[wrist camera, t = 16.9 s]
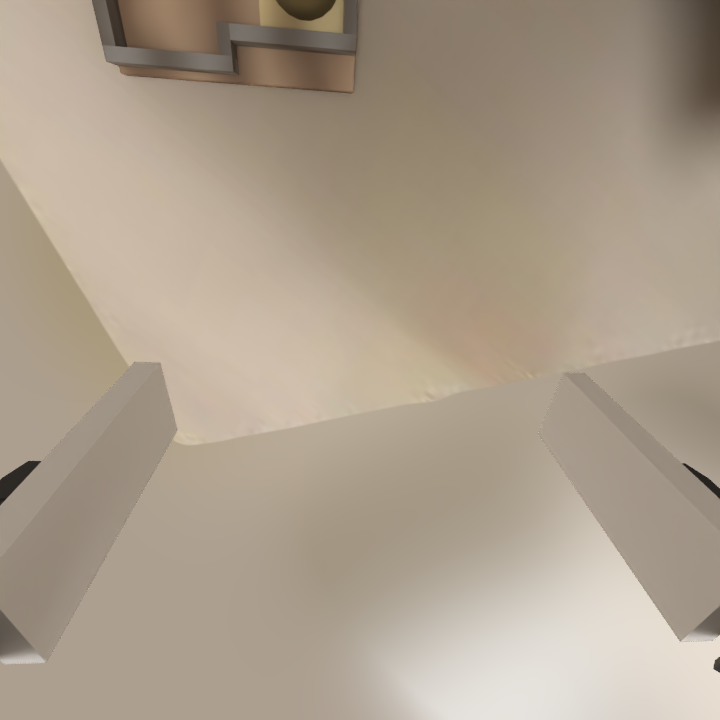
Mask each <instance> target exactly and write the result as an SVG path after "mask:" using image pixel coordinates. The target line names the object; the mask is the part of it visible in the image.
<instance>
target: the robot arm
mask: <svg viewBox="0 0 720 720" xmlns="http://www.w3.org/2000/svg"><path fill="white" fill-rule="evenodd" d="M176 432H177V426H176V422H175V418H174V414H173V410H172V406H171V403H170V399H169V395H168V391H167V387H166V383H165V379H164V375H163V371H162V368H161V364H160V363H152V362H134V363H133V364H132V365H131V366H130V368H129V369H128V370H127V371H126V372H125V373H124V374H123V375H122V376H121V377H120V378H119V379H118V380H117V381H116V383H115V384H114V385H113V386H112V387H111V388H110V389H109V390H108V391H107V392H106V393H105V394H104V395H103V396H102V397H101V399H100V400H99V401H98V402H97V403H96V404H95V405H94V406H93V407H92V408H91V409H90V410H89V412H87V413H86V415H85V416H84V417H83V418H82V419H81V420H80V421H79V422H78V423H77V424H76V425H75V426H74V427H73V428H72V429H71V431H70V432H69V433H68V434H67V435H66V436H65V437H64V438H63V439H62V440H61V441H60V442H59V443H58V445H56V447H55V448H54V449H53V450H52V451H51V452H50V453H49V454H48V455H47V456H46V457H45V458H44V459H43V460H42V461H28V462H26V463H25V464H23V465H22V466H20V467H19V468H17V469H15V470H14V471H12V472H11V473H9V474H8V475H6V476H5V477H3V478H2V479H1V480H0V660H1V661H2V662H3V663H4V664H16V663H46V662H47V661H48V659H49V657H50V655H51V653H52V652H53V650H54V648H55V646H56V645H57V643H58V641H59V639H60V638H61V636H62V634H63V632H64V630H65V629H66V627H67V625H68V623H69V621H70V620H71V618H72V616H73V614H74V613H75V611H76V609H77V607H78V606H79V604H80V602H81V600H82V598H83V597H84V595H85V593H86V592H87V590H88V588H89V586H90V584H91V582H92V581H93V579H94V577H95V576H96V574H97V572H98V570H99V568H100V567H101V565H102V563H103V561H104V560H105V558H106V556H107V554H108V552H109V551H110V549H111V547H112V545H113V544H114V542H115V540H116V538H117V537H118V535H119V533H120V531H121V529H122V528H123V526H124V524H125V522H126V520H127V519H128V517H129V515H130V514H131V512H132V510H133V508H134V506H135V505H136V503H137V501H138V499H139V498H140V496H141V494H142V492H143V490H144V489H145V487H146V485H147V483H148V482H149V480H150V478H151V476H152V474H153V473H154V471H155V469H156V467H157V466H158V464H159V462H160V460H161V459H162V457H163V455H164V453H165V452H166V450H167V448H168V446H169V444H170V443H171V441H172V439H173V437H174V436H175V434H176ZM538 435H539V436H540V438H541V439H542V441H543V442H544V443H545V445H546V446H547V448H548V449H549V451H550V452H551V454H552V455H553V457H554V458H555V459H556V461H557V463H558V464H559V465H560V467H561V468H562V470H563V471H564V473H565V474H566V476H567V477H568V479H569V480H570V482H571V483H572V484H573V486H574V487H575V489H576V490H577V492H578V493H579V495H580V496H581V497H582V499H583V500H584V502H585V503H586V505H587V506H588V508H589V509H590V511H591V512H592V513H593V515H594V517H595V518H596V519H597V521H598V522H599V524H600V525H601V527H602V528H603V530H604V531H605V533H606V534H607V536H608V537H609V538H610V540H611V541H612V543H613V544H614V546H615V547H616V548H617V550H618V552H619V553H620V554H621V556H622V557H623V559H624V560H625V562H626V563H627V565H628V566H629V568H630V569H631V570H632V572H633V573H634V575H635V576H636V578H637V579H638V581H639V582H640V584H641V585H642V586H643V588H644V589H645V591H646V592H647V594H648V595H649V597H650V598H651V600H652V601H653V603H654V604H655V606H656V607H657V608H658V610H659V611H660V613H661V614H662V616H663V617H664V619H665V620H666V622H667V623H668V625H669V626H670V627H671V629H672V630H673V632H674V633H675V635H676V636H677V638H678V639H679V641H680V642H690V641H713V640H714V639H715V638H717V637H718V636H719V635H720V488H718V487H717V486H716V485H715V484H714V483H713V482H712V481H711V480H710V479H708V478H707V477H705V476H704V475H702V474H701V473H699V472H698V471H696V470H694V469H693V468H691V467H690V466H688V465H686V464H682V463H681V462H680V461H679V460H678V459H676V458H675V457H674V456H673V455H672V454H671V453H670V452H669V451H668V450H667V449H666V448H665V447H664V446H663V445H661V444H660V443H659V442H658V441H657V440H656V439H655V438H654V437H653V436H652V435H651V434H650V433H649V432H647V431H646V430H645V429H644V428H643V427H642V426H641V425H640V424H639V423H638V422H637V421H636V420H635V419H634V418H632V417H631V416H630V415H629V414H628V413H627V412H626V411H625V410H624V409H623V408H622V407H621V406H620V405H619V404H617V403H616V402H615V401H614V400H613V399H612V398H611V397H610V396H609V395H608V394H607V393H606V392H605V391H604V390H602V389H601V388H600V387H599V386H598V385H597V384H596V383H595V382H594V381H593V380H592V379H591V378H590V377H589V376H587V375H586V374H585V373H563V375H562V377H561V379H560V382H559V384H558V387H557V389H556V392H555V394H554V397H553V399H552V402H551V404H550V406H549V409H548V411H547V414H546V416H545V419H544V421H543V424H542V426H541V428H540V431H539V433H538ZM714 669H715V670H716V671H718V672H720V657H719V658H718V659H717V660H715V664H714Z"/></svg>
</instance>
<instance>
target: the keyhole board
mask: <svg viewBox="0 0 720 720" xmlns="http://www.w3.org/2000/svg"><path fill="white" fill-rule="evenodd" d="M92 2H93V7H94V11H95V15H96V20H97V24H98V28H99V33H100V37H101V41H102V46H103V50H104V54H105V59H106V61H107V62H110V63H113V64H115V65H118V66H119V68H120V72H121V73H122V74H125V75H128V76H140V77H153V78H166V79H178V80H191V81H203V82H216V83H229V84H241V85H254V86H266V87H279V88H292V89H304V90H317V91H330V92H342V93H353V90H354V66H355V53H356V34H357V10H358V0H336V2H335V3H334V5H333V7H332V9H331V10H330V11H328V12H327V13H326V14H325V15H324V16H323V17H321V18H318V19H315V20H313V21H305V20H299V19H297V18H295V17H293V16H291V15H289V14H288V13H287V12H286V11H285V10H284V9H283V8H282V7H281V6H280V5H279V4H278V3H277V1H276V0H92Z"/></svg>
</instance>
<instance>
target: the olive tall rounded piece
mask: <svg viewBox="0 0 720 720" xmlns="http://www.w3.org/2000/svg"><path fill="white" fill-rule="evenodd" d="M276 1H277V3H278V4H279V5H280V6H281V7H282V8H283V9H284V10H285V11H286V12H287V13H288V14H289V15H291V16H293V17H295V18H297V19H299V20H305V21H313V20H315V19H318V18H321V17H323V16H324V15H325V14H326V13H327V12H328V11H330V10H331V9H332V7H333V5H334V3H335V2H336V0H276Z"/></svg>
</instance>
